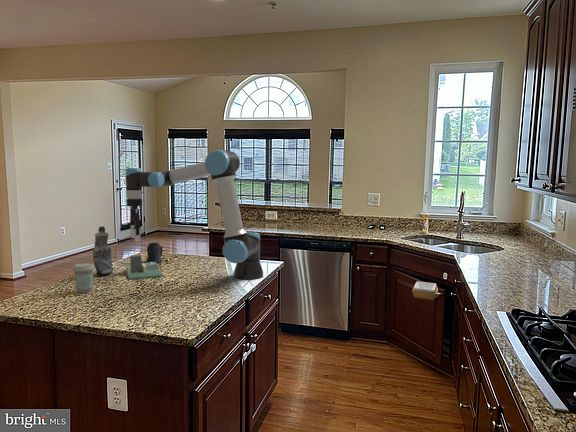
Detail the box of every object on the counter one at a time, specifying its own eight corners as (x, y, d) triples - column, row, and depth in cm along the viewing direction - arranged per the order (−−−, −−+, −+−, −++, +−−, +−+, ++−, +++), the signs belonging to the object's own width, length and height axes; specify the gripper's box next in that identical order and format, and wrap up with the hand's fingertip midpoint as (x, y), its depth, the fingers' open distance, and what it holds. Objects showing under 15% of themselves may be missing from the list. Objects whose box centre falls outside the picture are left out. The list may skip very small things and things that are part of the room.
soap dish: (414, 291, 195) (415, 280, 194) (437, 294, 191) (438, 283, 191) (411, 298, 184) (412, 287, 183) (435, 301, 180) (436, 290, 179)
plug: (141, 271, 219) (141, 256, 218) (131, 272, 217) (130, 256, 216) (140, 269, 223) (140, 254, 222) (130, 270, 220) (129, 255, 220)
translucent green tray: (162, 276, 214) (162, 266, 213) (129, 280, 206) (129, 269, 206) (155, 268, 231) (155, 258, 231) (124, 271, 224) (124, 261, 223)
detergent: (106, 271, 222) (105, 224, 220) (118, 272, 220) (117, 225, 218) (88, 277, 210) (86, 227, 207) (101, 278, 208) (99, 228, 205)
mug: (156, 264, 240) (156, 245, 238) (142, 263, 242) (142, 244, 241) (168, 260, 251) (167, 241, 250) (154, 259, 254) (154, 241, 252)
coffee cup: (72, 294, 181) (70, 267, 180) (76, 289, 189) (75, 263, 188) (93, 293, 183) (92, 266, 182) (97, 288, 192) (96, 262, 190)
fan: (157, 268, 226) (157, 263, 225) (145, 269, 223) (145, 264, 223) (155, 266, 231) (155, 261, 231) (144, 267, 228) (143, 261, 228)
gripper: (146, 199, 206) (147, 242, 209) (138, 196, 228) (139, 235, 231) (129, 200, 203) (131, 243, 205) (123, 197, 225) (124, 236, 227)
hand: (135, 239), depth 218 cm, fingers open, 13 cm apart
